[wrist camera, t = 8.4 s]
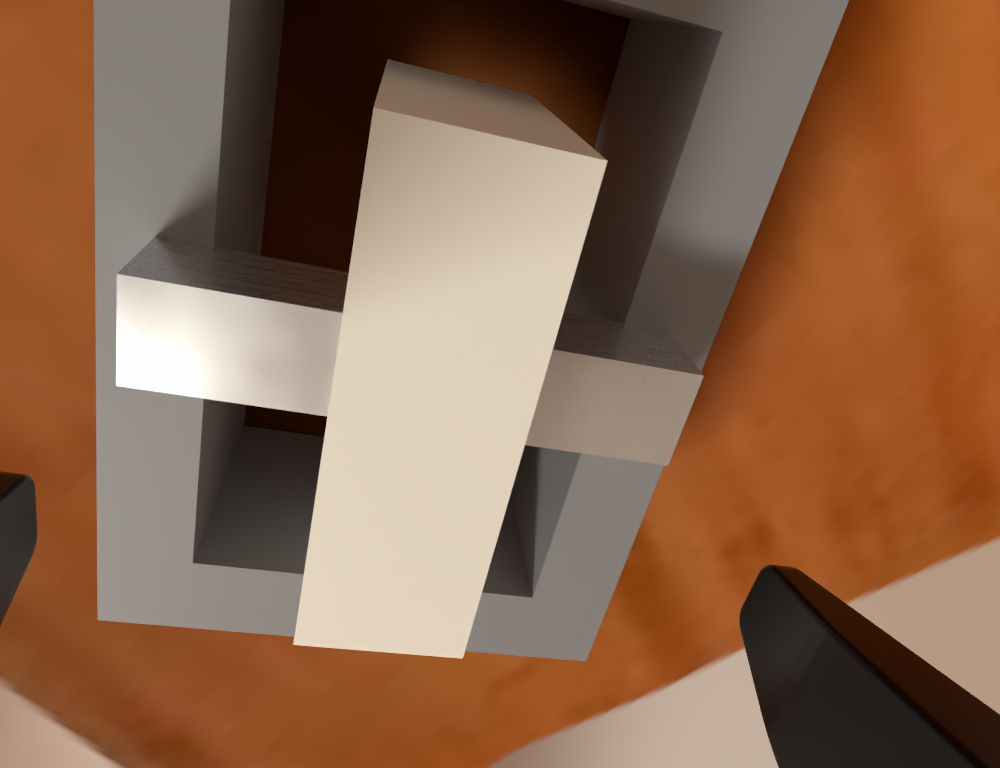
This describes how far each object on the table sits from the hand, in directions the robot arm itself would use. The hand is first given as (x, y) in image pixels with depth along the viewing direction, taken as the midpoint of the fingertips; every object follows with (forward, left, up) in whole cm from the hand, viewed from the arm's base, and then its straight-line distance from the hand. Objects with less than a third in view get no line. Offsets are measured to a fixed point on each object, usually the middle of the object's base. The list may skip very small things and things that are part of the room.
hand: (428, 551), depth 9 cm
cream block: (0, 0, -9) cm, 9 cm away
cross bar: (0, 0, -6) cm, 6 cm away
